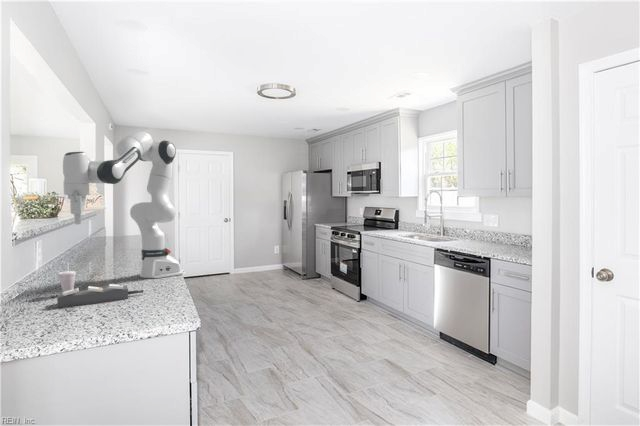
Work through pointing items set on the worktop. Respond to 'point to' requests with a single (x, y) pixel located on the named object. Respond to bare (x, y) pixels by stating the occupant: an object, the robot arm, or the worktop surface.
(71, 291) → the block
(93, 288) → the rocker
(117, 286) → the plate
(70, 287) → the smoothie
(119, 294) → the power strip
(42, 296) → the worktop surface
